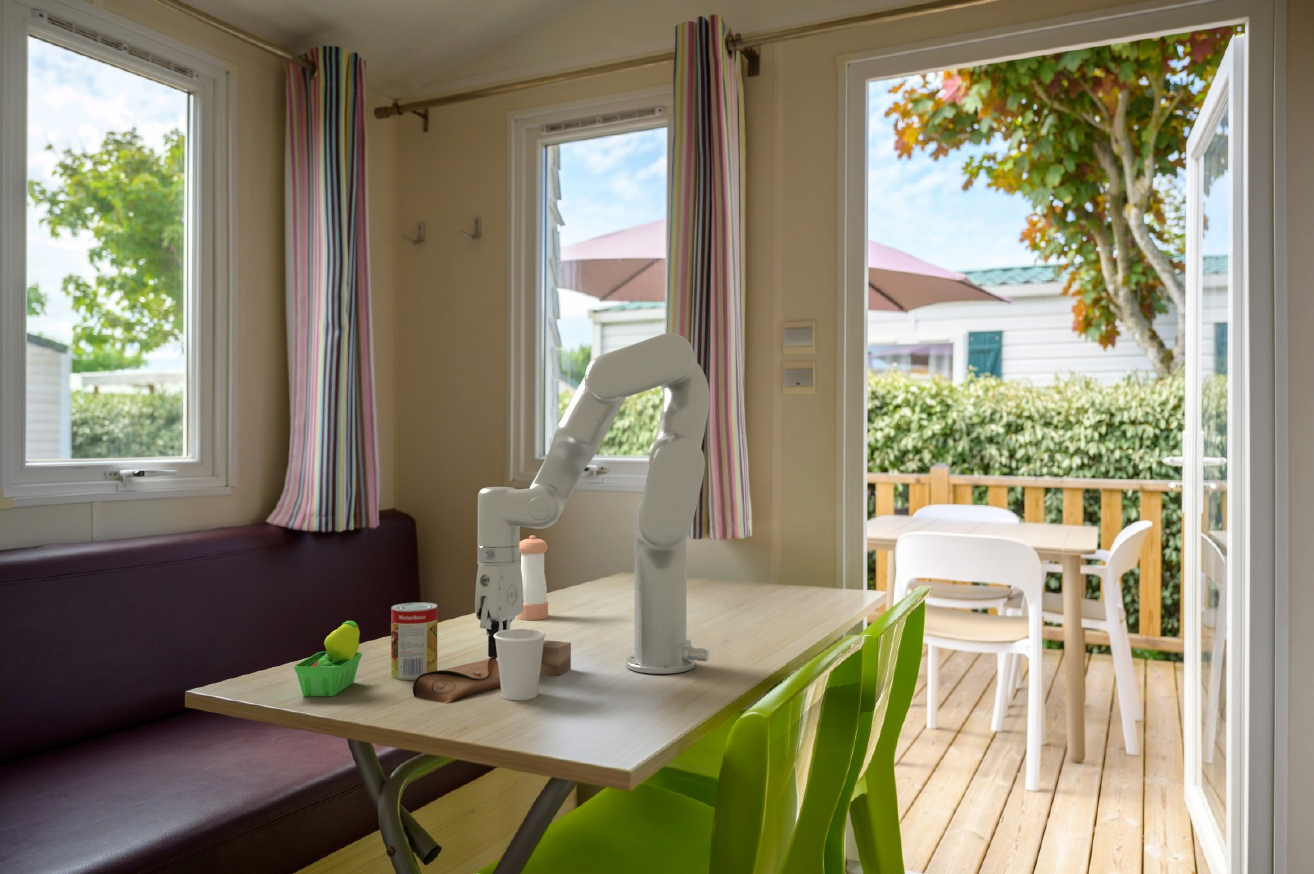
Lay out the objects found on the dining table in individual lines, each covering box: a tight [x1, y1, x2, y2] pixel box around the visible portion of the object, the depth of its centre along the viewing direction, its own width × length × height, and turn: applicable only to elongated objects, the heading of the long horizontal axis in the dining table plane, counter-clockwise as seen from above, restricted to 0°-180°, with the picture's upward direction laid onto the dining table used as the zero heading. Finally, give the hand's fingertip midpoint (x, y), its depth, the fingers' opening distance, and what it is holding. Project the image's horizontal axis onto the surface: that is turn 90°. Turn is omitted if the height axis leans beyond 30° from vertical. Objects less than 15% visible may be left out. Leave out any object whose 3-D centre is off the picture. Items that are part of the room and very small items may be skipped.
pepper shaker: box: [516, 535, 549, 621], centre depth 217 cm, size 7×7×19 cm
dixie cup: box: [494, 628, 547, 701], centre depth 149 cm, size 8×8×10 cm
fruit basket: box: [293, 620, 363, 697], centre depth 153 cm, size 11×9×11 cm
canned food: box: [390, 602, 438, 681], centre depth 163 cm, size 8×8×12 cm
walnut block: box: [540, 639, 572, 677], centre depth 165 cm, size 5×5×5 cm
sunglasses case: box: [412, 657, 501, 705], centre depth 154 cm, size 18×7×7 cm
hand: (498, 656), depth 167 cm, fingers closed
